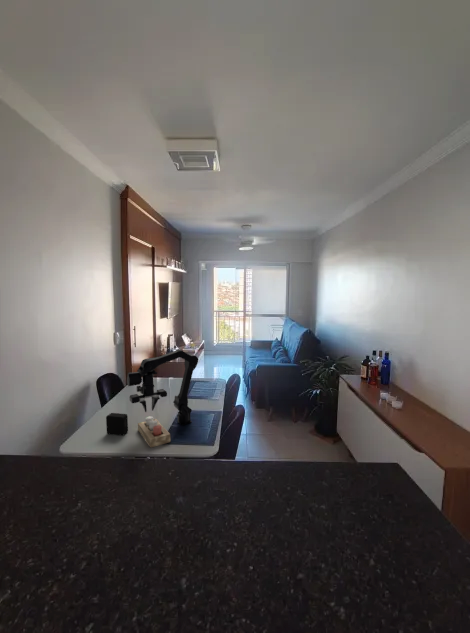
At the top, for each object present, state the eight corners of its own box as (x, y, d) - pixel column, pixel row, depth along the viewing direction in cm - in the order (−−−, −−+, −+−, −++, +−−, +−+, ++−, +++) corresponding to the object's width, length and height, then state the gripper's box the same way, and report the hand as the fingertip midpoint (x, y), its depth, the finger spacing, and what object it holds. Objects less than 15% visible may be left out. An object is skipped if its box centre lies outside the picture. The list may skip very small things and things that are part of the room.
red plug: (160, 432, 152) (159, 424, 151) (162, 435, 148) (162, 427, 148) (152, 434, 149) (152, 426, 149) (154, 437, 146) (154, 429, 146)
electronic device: (123, 435, 155) (123, 417, 154) (106, 434, 157) (105, 415, 156) (128, 432, 159) (127, 414, 158) (111, 430, 161) (110, 412, 160)
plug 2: (155, 427, 157) (155, 420, 157) (158, 430, 154) (158, 422, 153) (148, 429, 155) (148, 421, 155) (150, 432, 152) (150, 424, 151)
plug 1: (152, 422, 162) (151, 415, 162) (154, 425, 159) (154, 418, 159) (144, 424, 160) (144, 417, 160) (146, 427, 157) (146, 420, 157)
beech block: (156, 425, 166) (155, 418, 166) (170, 441, 148) (170, 434, 148) (138, 430, 161) (137, 423, 161) (150, 447, 143) (150, 439, 142)
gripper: (160, 376, 170) (160, 402, 171) (126, 382, 159) (127, 410, 161) (167, 381, 160) (167, 409, 162) (131, 387, 150) (132, 417, 151)
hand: (149, 411), depth 159 cm, fingers open, 3 cm apart
